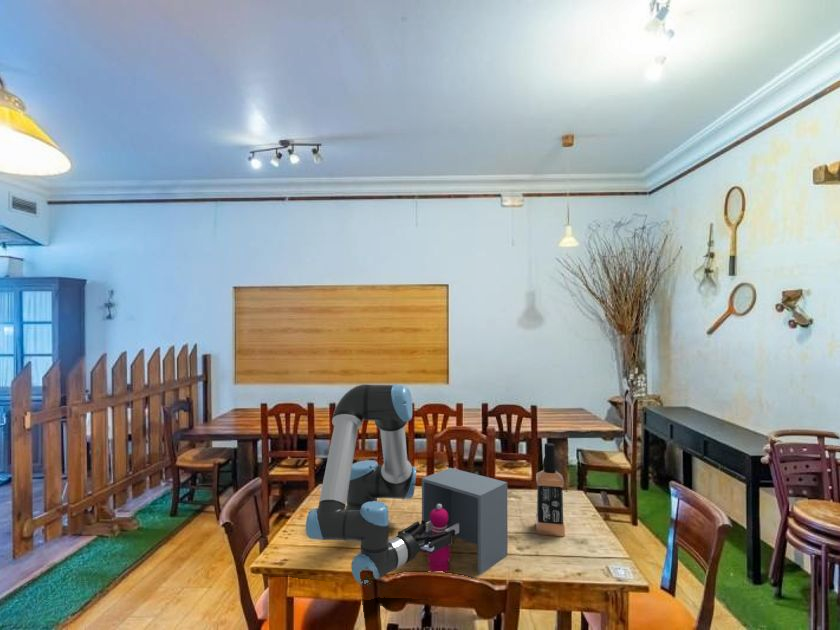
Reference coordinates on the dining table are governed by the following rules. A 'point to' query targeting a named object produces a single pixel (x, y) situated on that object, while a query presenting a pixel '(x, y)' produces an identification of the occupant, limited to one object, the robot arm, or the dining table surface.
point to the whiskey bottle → (549, 496)
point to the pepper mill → (438, 526)
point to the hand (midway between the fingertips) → (448, 524)
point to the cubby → (470, 510)
